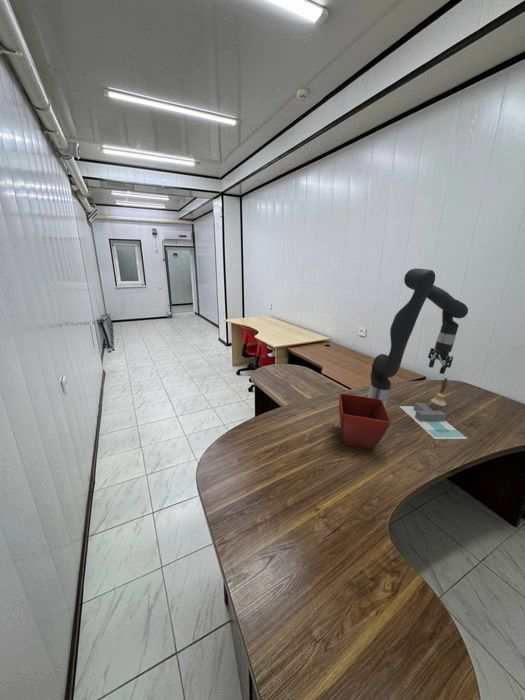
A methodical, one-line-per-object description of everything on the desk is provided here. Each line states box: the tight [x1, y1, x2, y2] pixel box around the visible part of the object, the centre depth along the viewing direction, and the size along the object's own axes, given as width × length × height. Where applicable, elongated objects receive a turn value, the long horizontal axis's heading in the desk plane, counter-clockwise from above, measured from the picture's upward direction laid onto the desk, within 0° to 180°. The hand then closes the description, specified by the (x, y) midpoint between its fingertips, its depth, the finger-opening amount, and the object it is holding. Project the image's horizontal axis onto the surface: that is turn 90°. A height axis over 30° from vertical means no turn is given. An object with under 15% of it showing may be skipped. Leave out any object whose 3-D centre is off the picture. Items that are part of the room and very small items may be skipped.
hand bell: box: [430, 377, 448, 407], centre depth 161 cm, size 8×8×16 cm
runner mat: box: [399, 405, 468, 440], centre depth 143 cm, size 17×29×1 cm, turn 6°
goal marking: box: [427, 421, 466, 437], centre depth 137 cm, size 16×14×1 cm
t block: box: [414, 402, 447, 422], centre depth 148 cm, size 14×12×4 cm
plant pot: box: [338, 392, 392, 450], centre depth 122 cm, size 19×19×17 cm
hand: (436, 370), depth 148 cm, fingers open, 8 cm apart
